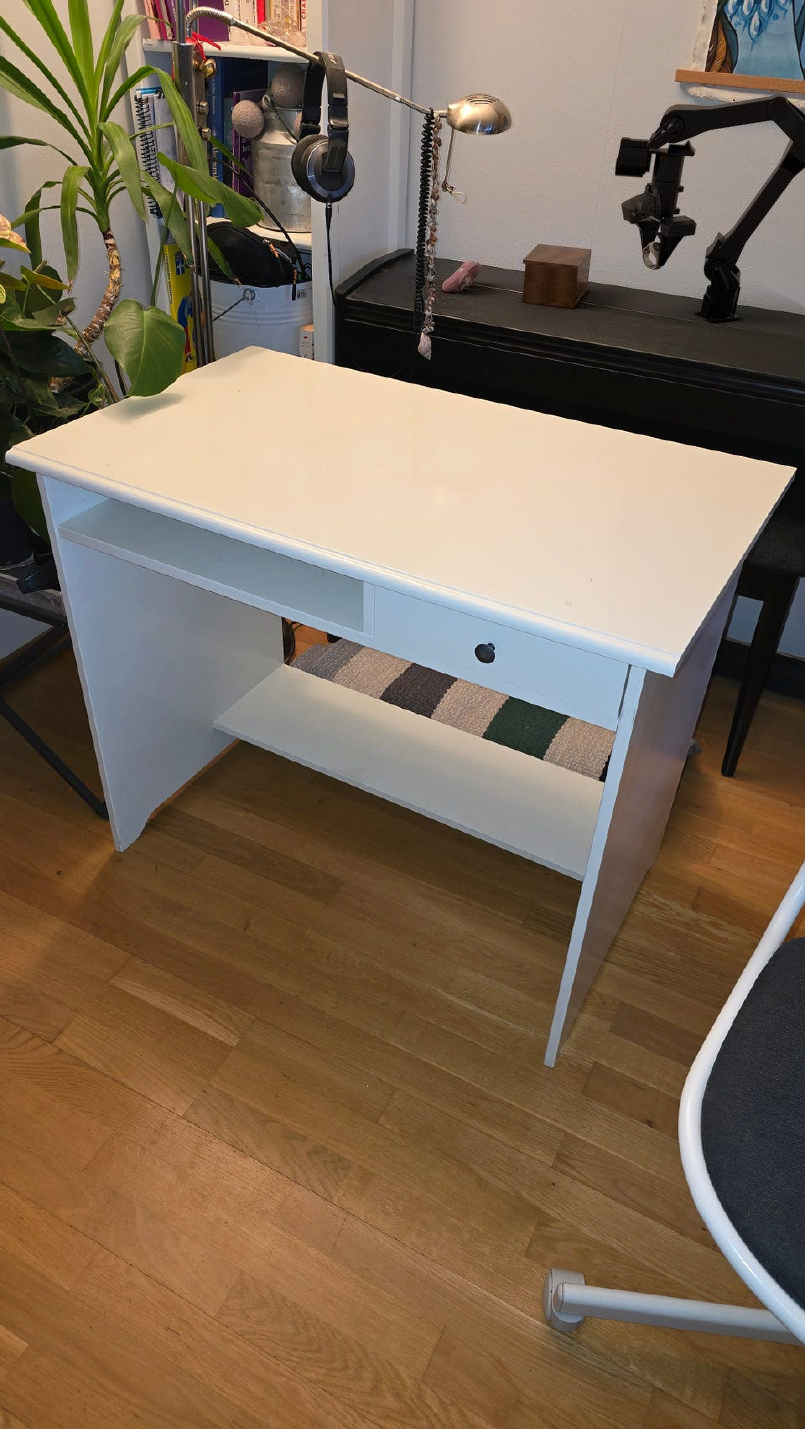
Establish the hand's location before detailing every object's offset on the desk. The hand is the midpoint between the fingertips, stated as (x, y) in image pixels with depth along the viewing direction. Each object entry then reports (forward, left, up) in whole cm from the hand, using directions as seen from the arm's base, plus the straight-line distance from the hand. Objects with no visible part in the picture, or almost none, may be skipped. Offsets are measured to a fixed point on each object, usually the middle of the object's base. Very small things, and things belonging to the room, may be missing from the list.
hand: (653, 261), depth 207 cm
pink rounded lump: (+32, -26, -10) cm, 43 cm away
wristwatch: (0, 0, -1) cm, 1 cm away
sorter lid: (+15, -15, -2) cm, 21 cm away
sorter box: (+15, -14, -10) cm, 23 cm away
